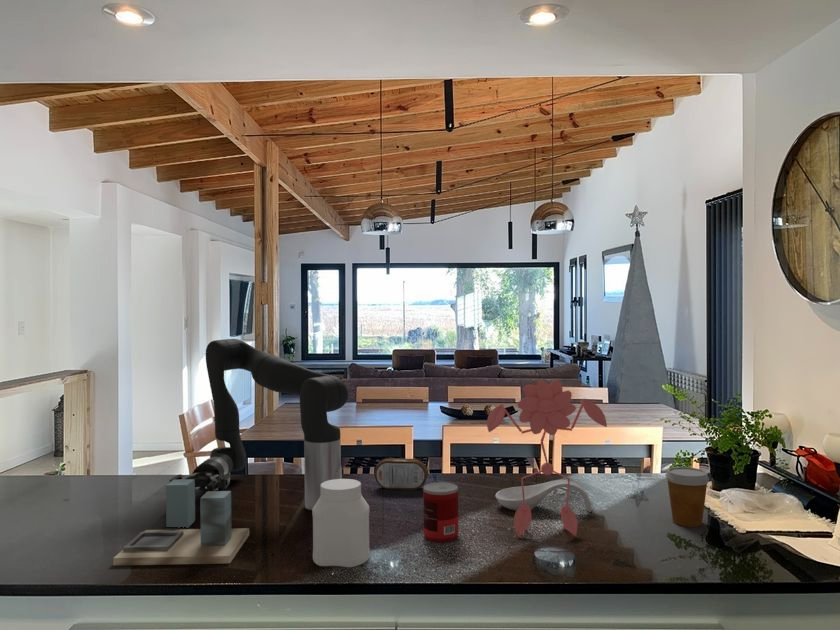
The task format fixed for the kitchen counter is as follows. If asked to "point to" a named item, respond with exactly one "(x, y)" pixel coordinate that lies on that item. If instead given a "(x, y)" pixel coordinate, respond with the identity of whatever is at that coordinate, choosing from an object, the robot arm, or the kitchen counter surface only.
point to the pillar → (180, 503)
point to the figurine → (548, 413)
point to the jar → (341, 525)
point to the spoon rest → (536, 494)
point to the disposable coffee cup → (687, 494)
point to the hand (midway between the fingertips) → (191, 490)
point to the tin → (401, 473)
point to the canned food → (440, 511)
